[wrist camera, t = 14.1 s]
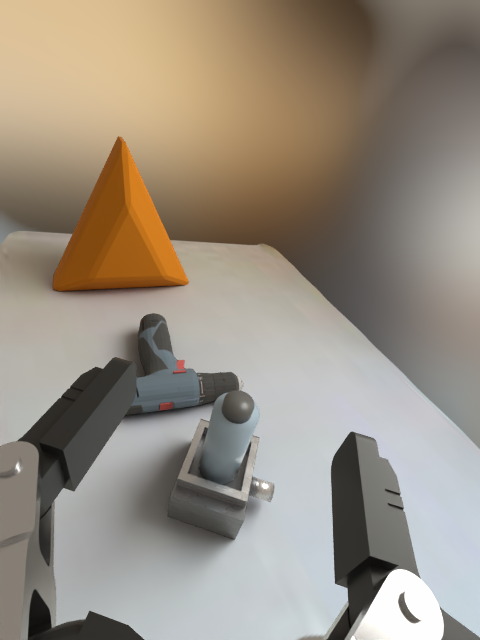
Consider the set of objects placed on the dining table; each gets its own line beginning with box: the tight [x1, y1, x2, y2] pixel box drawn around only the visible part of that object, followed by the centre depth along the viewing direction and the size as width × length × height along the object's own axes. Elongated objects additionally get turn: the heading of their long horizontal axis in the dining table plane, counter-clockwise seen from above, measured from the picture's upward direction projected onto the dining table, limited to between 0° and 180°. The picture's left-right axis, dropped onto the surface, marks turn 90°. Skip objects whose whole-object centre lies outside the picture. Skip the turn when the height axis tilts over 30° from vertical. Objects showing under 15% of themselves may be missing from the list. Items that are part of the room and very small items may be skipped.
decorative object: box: [53, 137, 189, 291], centre depth 64 cm, size 30×15×30 cm, turn 114°
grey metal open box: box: [168, 419, 274, 539], centre depth 36 cm, size 11×10×6 cm
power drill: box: [125, 314, 243, 415], centre depth 52 cm, size 5×19×20 cm
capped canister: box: [200, 390, 260, 485], centre depth 32 cm, size 5×5×11 cm
